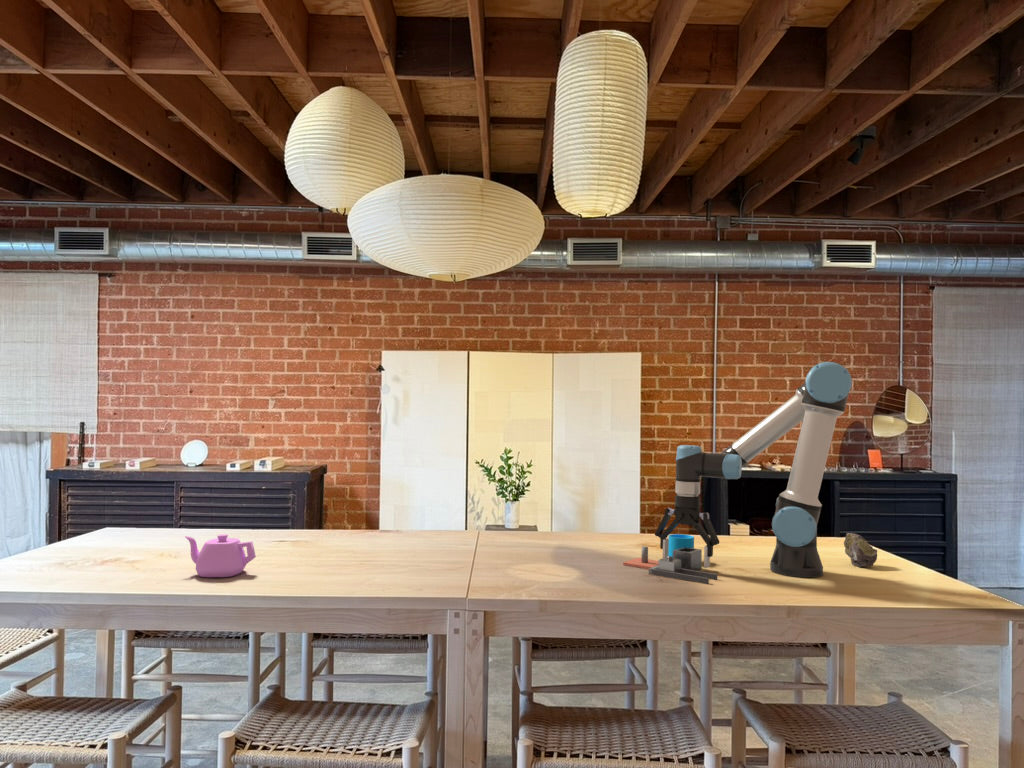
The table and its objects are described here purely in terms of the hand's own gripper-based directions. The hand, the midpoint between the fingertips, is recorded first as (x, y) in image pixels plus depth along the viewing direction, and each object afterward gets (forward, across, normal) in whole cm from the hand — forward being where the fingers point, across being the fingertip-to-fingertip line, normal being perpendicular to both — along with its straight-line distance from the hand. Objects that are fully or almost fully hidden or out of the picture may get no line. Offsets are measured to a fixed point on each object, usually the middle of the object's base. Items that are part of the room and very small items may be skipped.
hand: (685, 563), depth 212 cm
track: (+2, -4, +10) cm, 11 cm away
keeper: (+2, +12, +3) cm, 13 cm away
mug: (+2, +8, -12) cm, 14 cm away
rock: (+1, -40, -44) cm, 60 cm away
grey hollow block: (+2, 0, 0) cm, 2 cm away
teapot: (+4, +98, +98) cm, 139 cm away
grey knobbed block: (+2, +1, +10) cm, 10 cm away
